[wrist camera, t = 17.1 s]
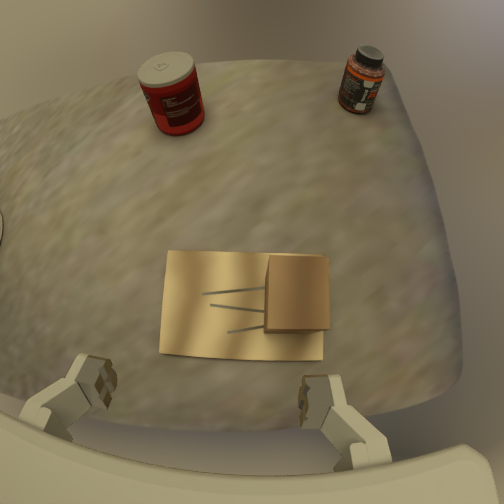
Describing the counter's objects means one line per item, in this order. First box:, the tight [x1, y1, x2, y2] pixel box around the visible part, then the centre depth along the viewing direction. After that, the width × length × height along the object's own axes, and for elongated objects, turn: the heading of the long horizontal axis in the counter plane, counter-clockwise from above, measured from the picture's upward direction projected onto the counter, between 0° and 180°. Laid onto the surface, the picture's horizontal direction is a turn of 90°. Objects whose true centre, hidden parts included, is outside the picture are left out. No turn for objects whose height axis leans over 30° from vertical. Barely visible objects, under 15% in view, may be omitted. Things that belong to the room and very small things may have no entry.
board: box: [159, 250, 323, 361], centre depth 33 cm, size 18×12×1 cm, turn 88°
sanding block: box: [264, 255, 330, 334], centre depth 28 cm, size 5×6×9 cm
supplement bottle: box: [338, 45, 385, 113], centre depth 38 cm, size 6×6×11 cm
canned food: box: [137, 52, 204, 135], centre depth 38 cm, size 8×8×11 cm
